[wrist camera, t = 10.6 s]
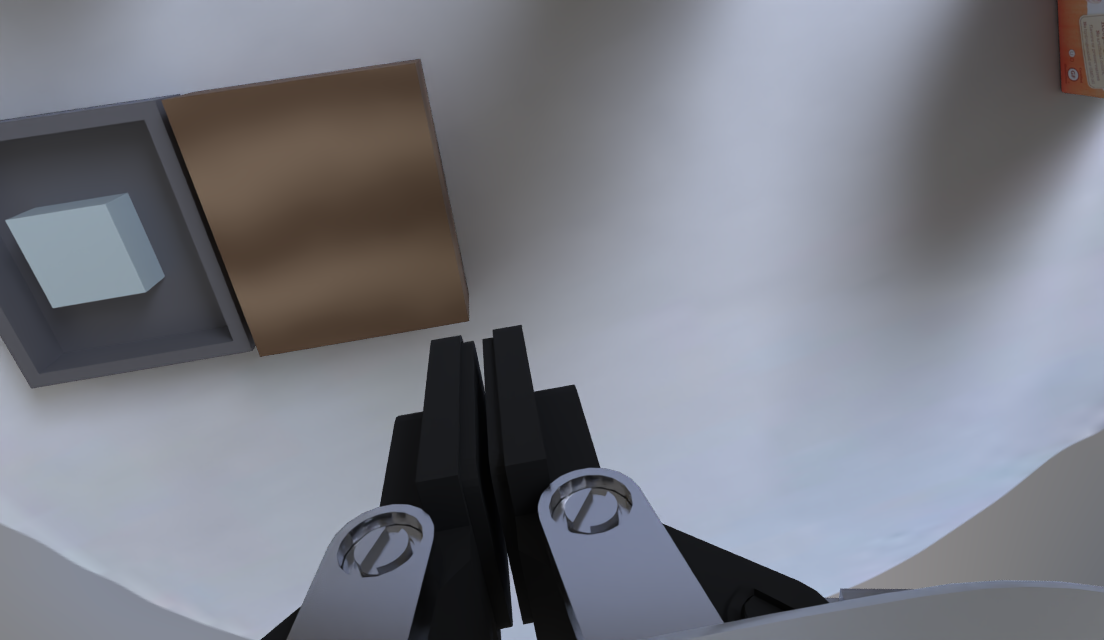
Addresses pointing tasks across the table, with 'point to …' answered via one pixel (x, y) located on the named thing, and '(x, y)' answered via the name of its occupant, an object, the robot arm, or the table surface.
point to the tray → (169, 222)
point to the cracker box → (1082, 46)
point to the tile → (87, 249)
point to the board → (327, 204)
